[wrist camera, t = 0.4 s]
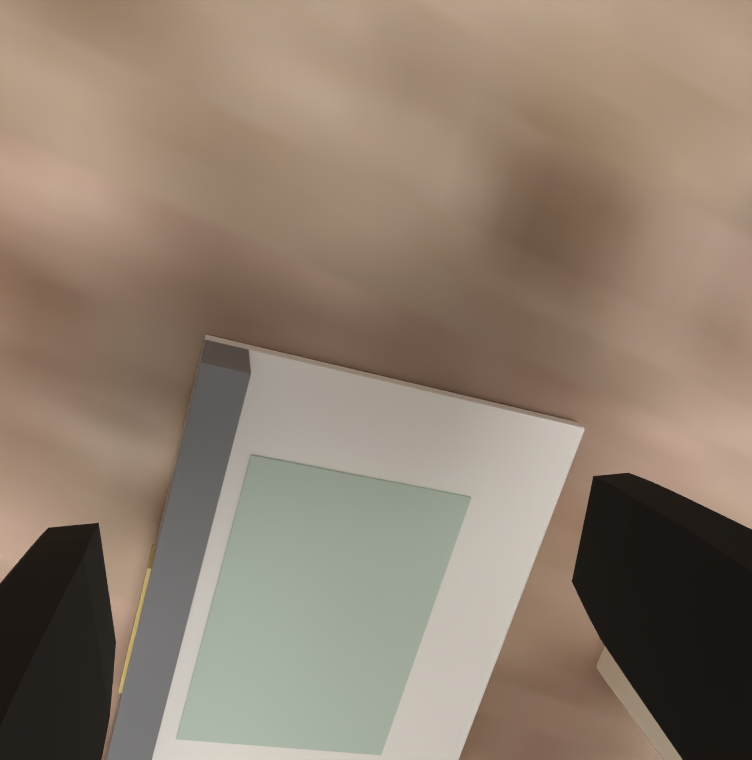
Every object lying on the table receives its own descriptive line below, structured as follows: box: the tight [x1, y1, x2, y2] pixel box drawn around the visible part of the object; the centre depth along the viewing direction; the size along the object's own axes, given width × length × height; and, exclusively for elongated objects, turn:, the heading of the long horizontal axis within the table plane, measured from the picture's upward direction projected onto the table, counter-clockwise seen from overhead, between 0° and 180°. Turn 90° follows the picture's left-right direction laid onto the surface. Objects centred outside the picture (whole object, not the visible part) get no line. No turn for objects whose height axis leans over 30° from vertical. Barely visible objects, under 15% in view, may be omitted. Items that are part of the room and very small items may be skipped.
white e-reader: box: [105, 335, 585, 760], centre depth 21 cm, size 16×12×3 cm
